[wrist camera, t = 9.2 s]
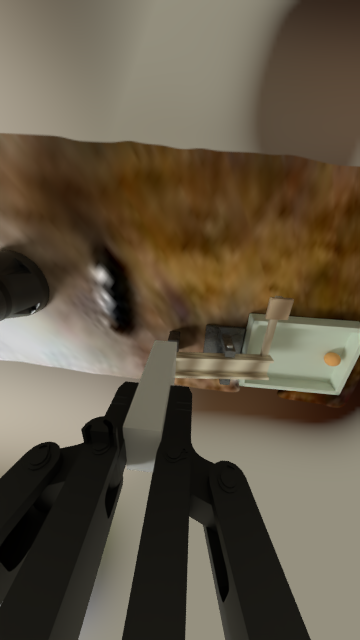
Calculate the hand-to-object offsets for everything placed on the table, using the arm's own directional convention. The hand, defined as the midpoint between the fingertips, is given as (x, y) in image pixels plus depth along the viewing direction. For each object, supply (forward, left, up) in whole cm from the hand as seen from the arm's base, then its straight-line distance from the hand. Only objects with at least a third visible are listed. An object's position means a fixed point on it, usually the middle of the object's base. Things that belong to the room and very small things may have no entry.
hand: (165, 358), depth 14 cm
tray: (+27, -18, -32) cm, 46 cm away
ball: (+35, -18, -30) cm, 50 cm away
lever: (+8, -12, -25) cm, 29 cm away
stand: (+6, -18, -32) cm, 37 cm away
